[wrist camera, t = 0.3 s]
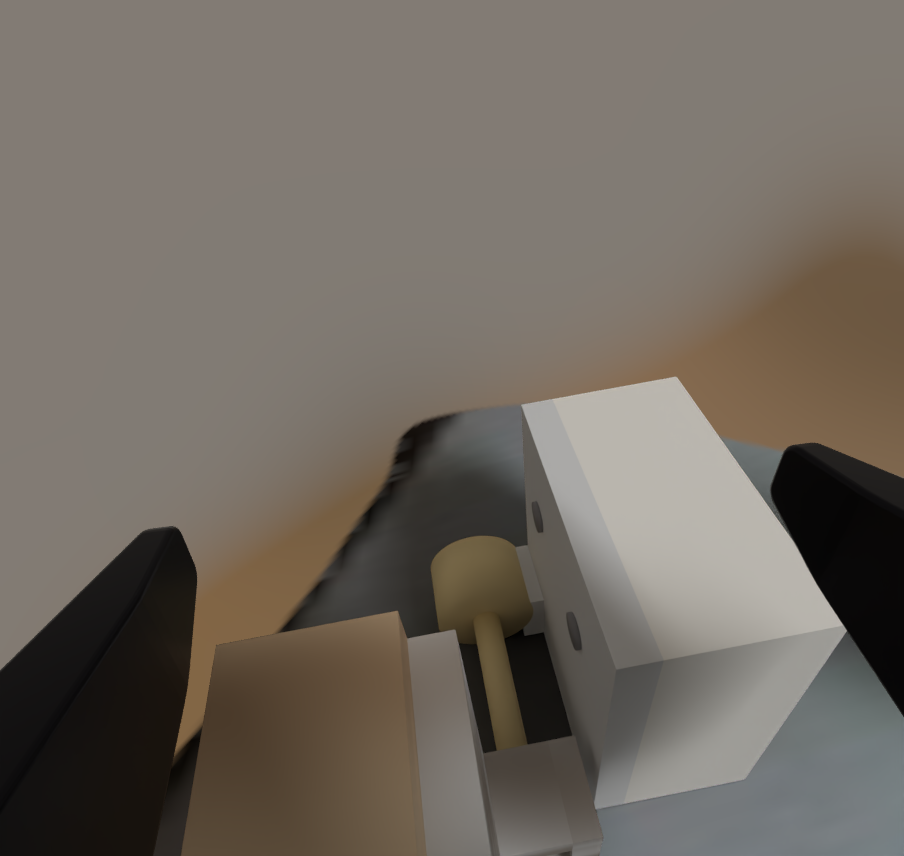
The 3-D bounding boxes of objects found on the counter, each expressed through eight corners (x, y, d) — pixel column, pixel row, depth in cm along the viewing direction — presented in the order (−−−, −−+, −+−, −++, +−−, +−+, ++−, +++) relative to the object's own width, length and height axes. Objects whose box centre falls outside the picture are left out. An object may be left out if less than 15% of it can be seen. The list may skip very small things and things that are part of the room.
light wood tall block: (626, 981, 16) (705, 899, 8) (361, 1036, 16) (154, 1012, 7) (571, 776, 19) (586, 574, 11) (357, 819, 19) (215, 645, 11)
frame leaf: (752, 797, 19) (867, 646, 12) (473, 853, 18) (427, 733, 12) (643, 559, 25) (676, 376, 18) (437, 598, 25) (395, 427, 18)
